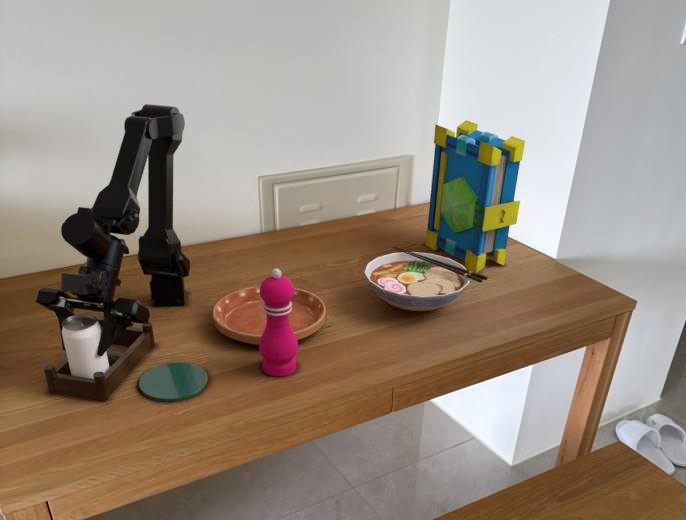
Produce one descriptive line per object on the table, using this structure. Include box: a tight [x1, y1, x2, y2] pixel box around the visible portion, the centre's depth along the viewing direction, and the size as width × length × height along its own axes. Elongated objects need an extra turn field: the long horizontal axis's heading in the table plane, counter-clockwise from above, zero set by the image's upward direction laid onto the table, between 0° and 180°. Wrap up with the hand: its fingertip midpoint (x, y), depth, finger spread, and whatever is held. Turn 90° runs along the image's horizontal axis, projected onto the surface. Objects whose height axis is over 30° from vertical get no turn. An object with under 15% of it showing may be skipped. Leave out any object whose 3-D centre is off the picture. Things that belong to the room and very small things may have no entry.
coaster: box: [138, 362, 209, 402], centre depth 129 cm, size 12×12×1 cm
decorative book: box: [424, 119, 526, 274], centre depth 173 cm, size 14×23×30 cm, turn 33°
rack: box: [43, 315, 156, 402], centre depth 131 cm, size 20×11×5 cm, turn 168°
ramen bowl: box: [364, 246, 488, 312], centre depth 156 cm, size 25×23×8 cm
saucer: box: [212, 285, 327, 346], centre depth 147 cm, size 23×23×4 cm
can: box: [62, 313, 109, 379], centre depth 125 cm, size 6×6×12 cm
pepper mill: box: [258, 268, 299, 377], centre depth 129 cm, size 7×7×20 cm
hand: (82, 353), depth 124 cm, fingers closed on can, 6 cm apart
